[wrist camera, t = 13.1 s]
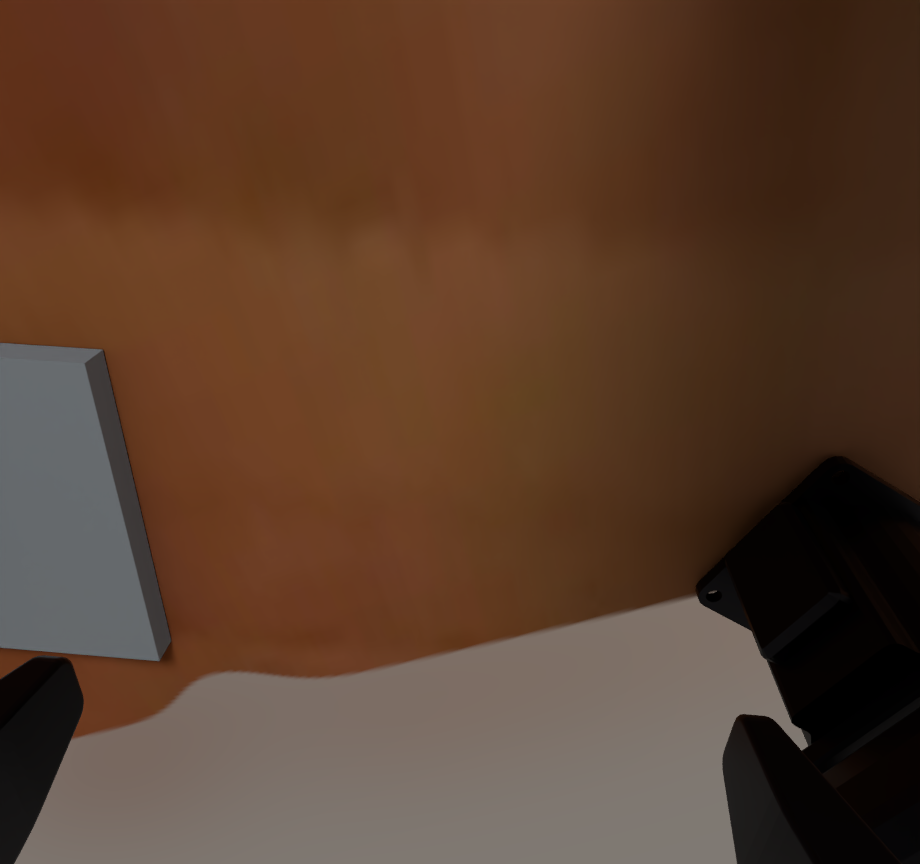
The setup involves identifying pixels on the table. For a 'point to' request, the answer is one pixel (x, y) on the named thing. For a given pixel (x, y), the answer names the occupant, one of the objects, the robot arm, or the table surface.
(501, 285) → the table surface
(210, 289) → the table surface
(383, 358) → the table surface
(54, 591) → the vise
